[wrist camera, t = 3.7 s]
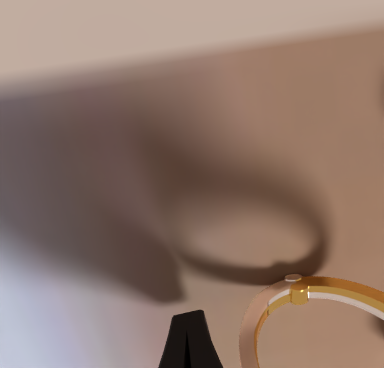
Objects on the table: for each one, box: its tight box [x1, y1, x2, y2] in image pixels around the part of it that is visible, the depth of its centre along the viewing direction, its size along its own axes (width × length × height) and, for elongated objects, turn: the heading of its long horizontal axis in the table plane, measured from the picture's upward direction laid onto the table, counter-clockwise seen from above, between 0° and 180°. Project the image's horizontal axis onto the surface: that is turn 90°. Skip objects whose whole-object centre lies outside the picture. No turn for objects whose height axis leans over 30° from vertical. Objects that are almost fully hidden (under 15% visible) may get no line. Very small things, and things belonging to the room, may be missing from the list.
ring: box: [239, 274, 384, 368], centre depth 8 cm, size 7×3×8 cm, turn 98°
